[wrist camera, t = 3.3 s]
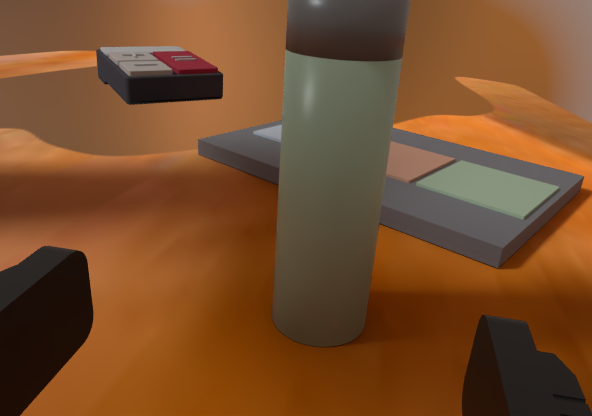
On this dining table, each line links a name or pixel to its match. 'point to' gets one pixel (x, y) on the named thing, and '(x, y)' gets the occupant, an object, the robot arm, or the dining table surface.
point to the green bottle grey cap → (333, 162)
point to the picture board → (434, 189)
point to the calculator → (158, 74)
